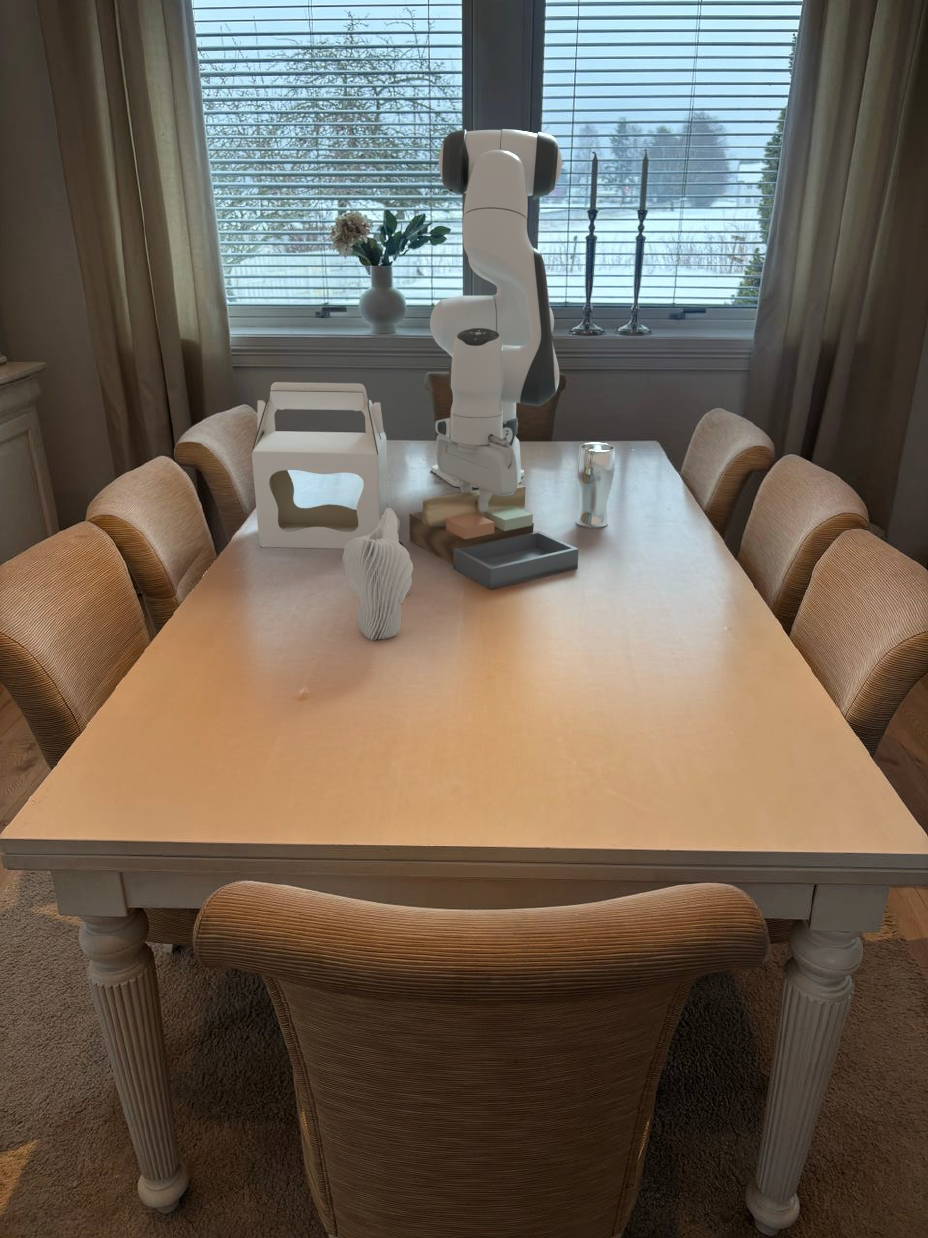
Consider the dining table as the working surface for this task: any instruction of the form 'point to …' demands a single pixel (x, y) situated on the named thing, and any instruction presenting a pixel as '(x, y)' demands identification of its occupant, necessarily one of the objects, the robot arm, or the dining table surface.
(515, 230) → the robot arm
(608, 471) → the beer glass
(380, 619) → the shell sculpture
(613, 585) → the dining table surface
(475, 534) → the terracotta tile
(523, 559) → the box
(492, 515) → the sage tile
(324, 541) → the gable box
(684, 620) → the dining table surface
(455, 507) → the bar
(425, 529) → the dark wooden square block
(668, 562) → the dining table surface
